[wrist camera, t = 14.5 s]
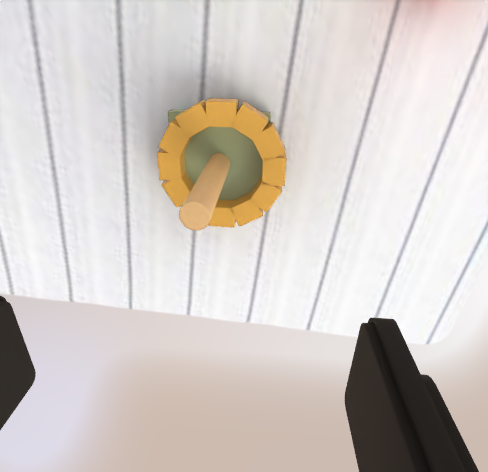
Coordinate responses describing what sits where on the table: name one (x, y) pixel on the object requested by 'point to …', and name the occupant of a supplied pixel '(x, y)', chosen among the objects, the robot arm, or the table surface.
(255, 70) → the table surface
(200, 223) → the post stand
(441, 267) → the table surface
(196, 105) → the ring
